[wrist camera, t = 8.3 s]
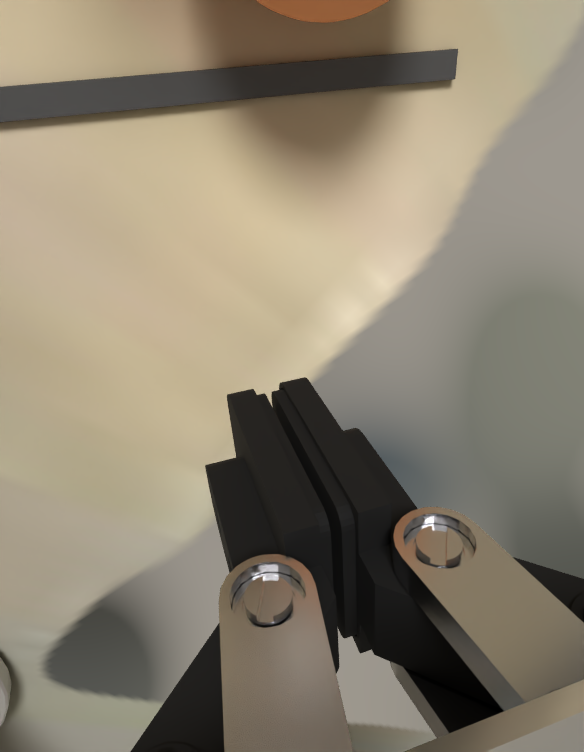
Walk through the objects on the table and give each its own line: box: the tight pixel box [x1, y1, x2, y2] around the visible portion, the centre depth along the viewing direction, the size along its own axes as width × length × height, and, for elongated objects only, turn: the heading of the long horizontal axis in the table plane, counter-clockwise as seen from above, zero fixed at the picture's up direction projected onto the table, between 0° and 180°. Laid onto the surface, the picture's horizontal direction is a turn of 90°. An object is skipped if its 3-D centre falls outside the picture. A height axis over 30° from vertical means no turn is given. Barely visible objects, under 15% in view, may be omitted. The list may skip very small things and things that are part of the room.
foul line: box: [0, 49, 458, 122], centre depth 15 cm, size 1×14×1 cm, turn 94°
